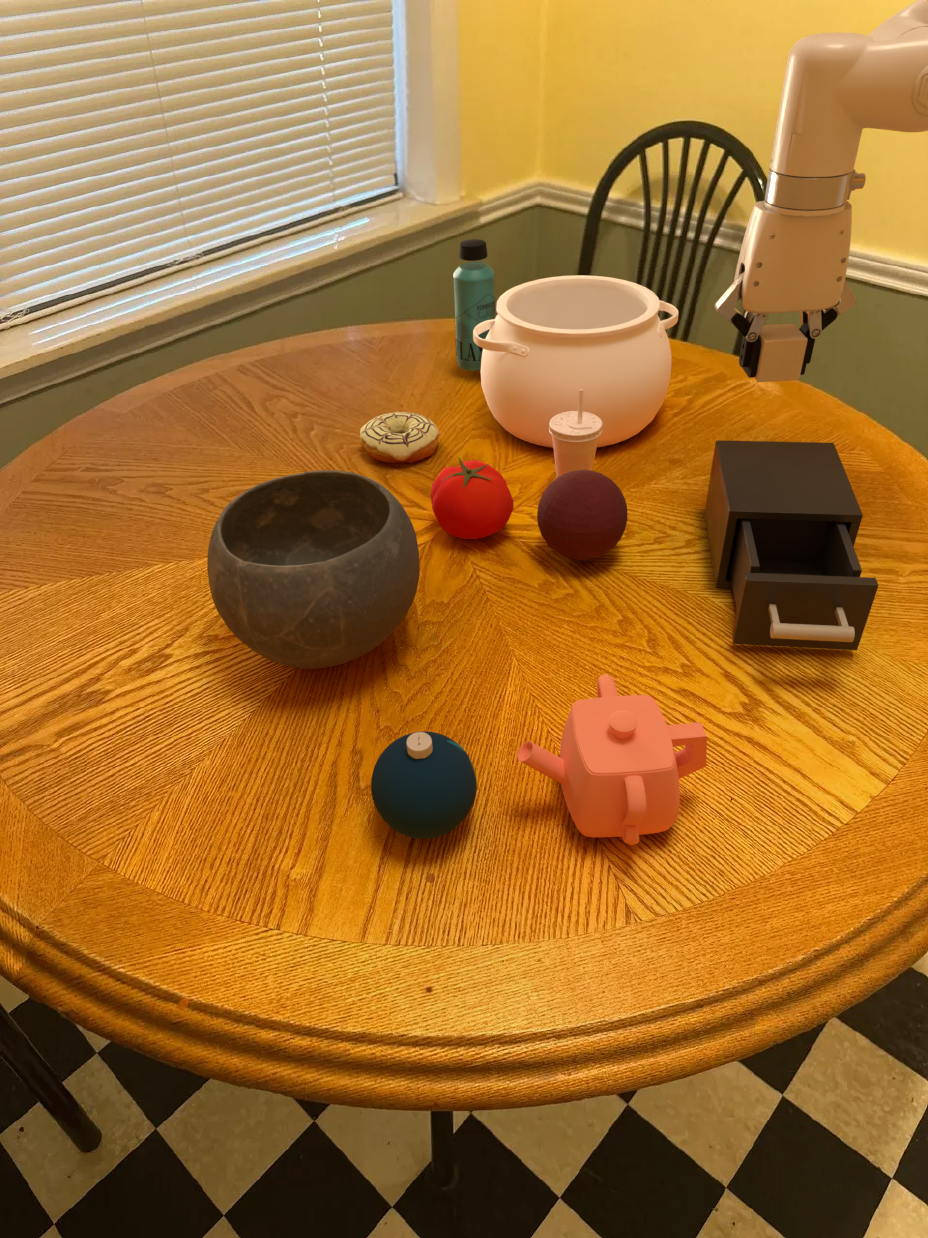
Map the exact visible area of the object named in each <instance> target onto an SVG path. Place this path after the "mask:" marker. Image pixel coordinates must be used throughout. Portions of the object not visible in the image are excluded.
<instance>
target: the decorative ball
mask: <svg viewBox="0 0 928 1238" xmlns="http://www.w3.org/2000/svg"><path fill="white" fill-rule="evenodd" d="M628 513H629V512H628V505H627V501H626V497H625V496H624V493H623V492H622V490H621V488H620V487H619V486H618V485H617V484H616V483H615V482H614V480H613V479H611V478H610V477H608V476H606V475H605V474H603V473H601V472H598V471H595V470H592V471H591V470H575V471H571V472H568V473H566V474H563V475H561V476H559V477H558V478H557V477H556V478H554V480H553V481H552V482H550V483H549V484H548V486H547V487H546V488H545V489H544V491H543V492H542V494H541V497H540V499H539V502H538V505H537V511H536V521H537V525H538V529H539V533H540V535H541V537H542V539H543V541H544V542H545V543H546V544H547V546H548V547H549V548H550V549H552V550H553V552H555V553H556V554H558V555H559V556H561V557H564V558H566V559H570V560H573V561H589V560H594V559H597V558H600V557H602V556H604V555H606V554H607V553H608V552H610V551H611V550H613V549H614V548H615V547H616V546H617V544H618V543H619V542H620V540H621V539H622V537H623V535H624V534H625V531H626V528H627V524H628V517H629V514H628Z"/></svg>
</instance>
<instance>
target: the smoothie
mask: <svg viewBox="0 0 928 1238" xmlns="http://www.w3.org/2000/svg"><path fill="white" fill-rule="evenodd" d="M583 391H584V389H579V396H578V411H568V412H563V413H560V414H558V415H556V416H554V417H553V418H552V419H551V420H550V427H549V432H550V434H551V435H552V440H553V448H552V449H553V457H554V464H555V465H554V467H555V475H556V478H558V477H559V476H561V475H563V474H566V473H568V472H571V471H575V470H591V471H593V467H594V464H595V463H594V462H595V457H596V453H597V448H598V447H597V443H598V437H599V436H600V435H601V433H602V420H601V419H600V418H599V417H598V416H596V415H594V414H592V413H588V412H583Z"/></svg>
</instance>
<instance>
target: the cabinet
mask: <svg viewBox="0 0 928 1238" xmlns="http://www.w3.org/2000/svg"><path fill="white" fill-rule="evenodd" d="M863 517H864V514H863V512H862V509H861V506H860V504H859V502H858V500H857V497H856V494H855V491H854V489H853V487H852V485H851V482H850V479H849V477H848V475H847V472H846V470H845V467H844V464H843V462H842V460H841V457H840V455H839V453H838V449H837V448H836V444H835V442H819V441H818V442H816V441H815V442H814V441H812V442H811V441H773V440H772V441H770V440H769V441H765V440H720V439H719V440H718V439H717V440H715V444H714V449H713V456H712V463H711V469H710V476H709V481H708V488H707V495H706V501H705V508H704V519H705V526H706V532H707V538H708V545H709V552H710V558H711V565H712V572H713V579H714V585H715V589H732V590H733V587H732V581H731V575H730V570H729V560H730V555H731V549H732V544H733V539H734V533H735V528H736V523H737V518H738V519H769V520H800V521H831V522H844V523H845V526H846V528H847V531H848V534H849V536H850V539H851V542H852V545H853V547H855V544H856V541H857V540H856V539H857V537H858V533H859V530H860V527H861V523H862V520H863Z"/></svg>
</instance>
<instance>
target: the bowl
mask: <svg viewBox="0 0 928 1238" xmlns="http://www.w3.org/2000/svg"><path fill="white" fill-rule="evenodd" d="M418 544H419V543H418V539H417V534H416V531H415V528H414V525H413V523H412V520H411V519H410V516H409V514H408V512H407V511H406V509H405V507H404V506H403V504H402V503H401V502H400V501H399V499H397V498H396V497H395V495H394V494H393V493H392V492H391V491H390V490H389V489H387V487H385V486H384V485H383V484H381V483H380V482H378V481H376V480H374V479H372V478H371V477H367V476H364V475H362V474H359V473H355V472H352V471H344V470H339V469H336V470H335V469H319V470H318V469H317V470H310V471H304V472H300V473H293V474H288V475H284V476H279V477H275V478H271V479H268V480H266V481H263V482H261V483H258V484H256V485H254V486H252V487H250V488H248V489H246V490H245V491H242V492H241V493H240V494H238V495H237V496H236V497H235V498H233V499H232V500H230V502H229V503H228V504H226V506H225V507H224V508H223V510H222V511H221V513H220V514H219V516H218V518H217V520H216V521H215V524H214V527H213V529H212V531H211V535H210V539H209V544H208V549H207V562H206V565H207V578H208V585H209V591H210V593H211V599H212V602H213V605H214V606H215V607H214V608H215V609H216V611H217V613H218V615H219V616H220V618H221V619H222V621H223V622H224V624H225V625H226V627H227V629H228V630H229V631H230V632H231V633H232V634H233V635H234V636H235V638H237V639H238V640H239V641H240V642H241V643H242V644H243V645H245V646H246V647H247V648H249V649H250V650H251V651H252V652H254V653H255V654H257V655H259V656H261V657H263V658H264V659H266V660H268V661H271V662H273V663H275V664H278V665H282V666H285V667H290V668H296V669H305V670H306V669H308V670H310V669H313V670H314V669H315V670H316V669H325V668H331V667H335V666H339V665H342V664H346V663H349V662H351V661H355V660H357V659H358V658H361V657H362V656H364V655H366V654H368V653H370V652H372V651H373V650H374V649H376V648H377V647H378V646H380V645H381V644H382V643H384V642H385V641H386V640H387V639H388V638H390V636H391V635H393V633H394V632H395V631H396V630H397V628H398V627H399V626H400V625H401V623H402V622H403V621H404V619H405V618H406V616H407V614H408V613H409V611H410V609H411V607H412V605H413V603H414V600H415V597H416V594H417V592H418V586H419V583H420V582H419V580H420V551H419V545H418Z"/></svg>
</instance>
